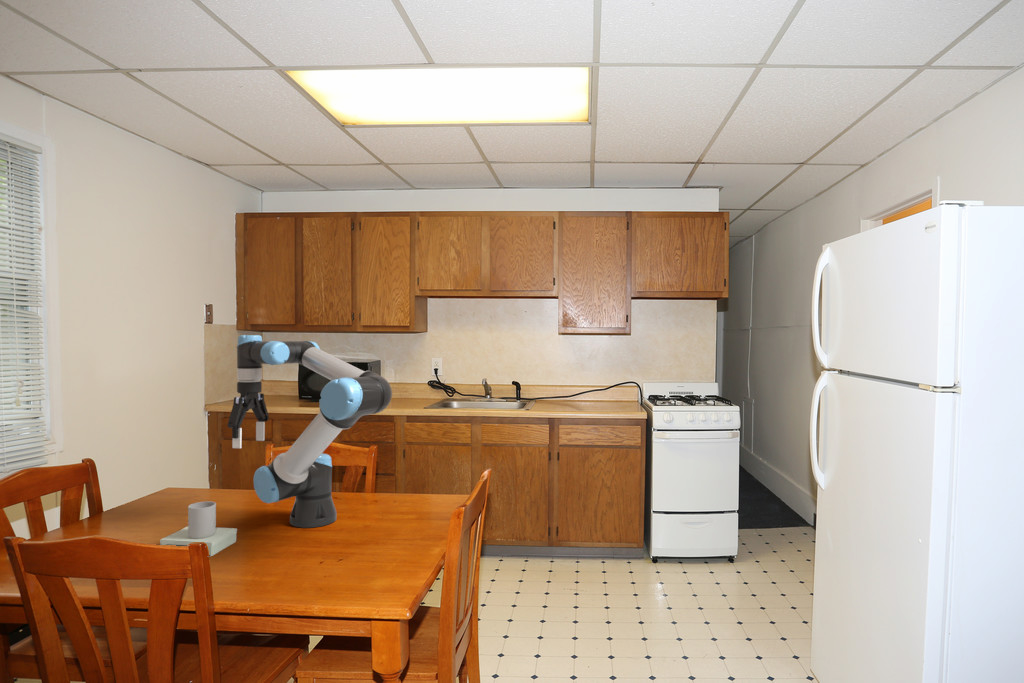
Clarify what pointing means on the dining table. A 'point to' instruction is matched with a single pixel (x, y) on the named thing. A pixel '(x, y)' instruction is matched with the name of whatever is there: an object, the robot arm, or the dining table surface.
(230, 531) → the pale green flat block
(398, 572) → the dining table surface
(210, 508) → the cup
